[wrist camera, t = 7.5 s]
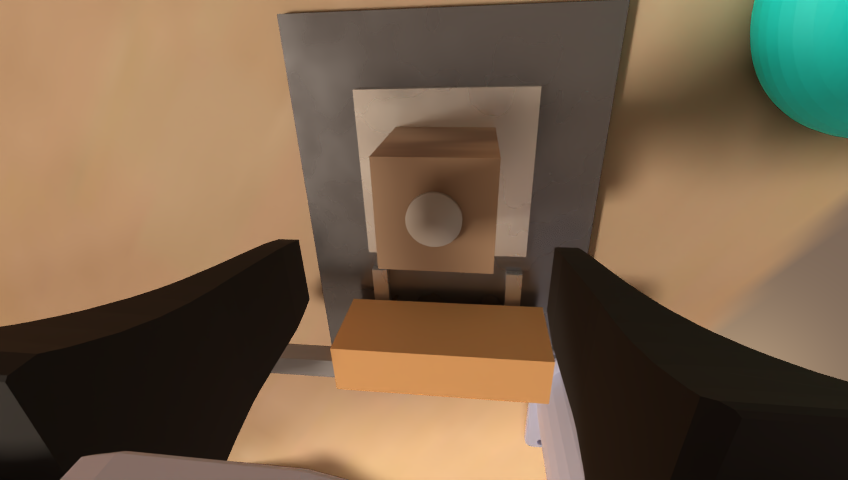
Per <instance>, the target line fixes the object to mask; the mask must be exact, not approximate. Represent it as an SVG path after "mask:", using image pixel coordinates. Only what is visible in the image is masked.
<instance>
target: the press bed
mask: <svg viewBox="0 0 848 480" xmlns="http://www.w3.org/2000/svg"><path fill="white" fill-rule="evenodd" d="M629 2H630V0H604V1H580V2H557V3H533V4H509V5H485V6H461V7H437V8H413V9H389V10H365V11H341V12H317V13H294V14H277V18H278V24H279V30H280V36H281V42H282V48H283V54H284V60H285V66H286V72H287V78H288V84H289V90H290V96H291V102H292V108H293V114H294V120H295V126H296V132H297V138H298V144H299V150H300V156H301V162H302V169H303V175H304V181H305V187H306V193H307V199H308V205H309V211H310V217H311V223H312V229H313V235H314V241H315V247H316V253H317V259H318V265H319V271H320V277H321V283H322V289H323V295H324V301H325V307H326V313H327V319H328V325H329V331H330V337H331V343H332V344H333V342H334V339H335V337H336V335H337V333H338V331H339V329H340V327H341V325H342V323H343V320H344V318H345V316H346V314H347V312H348V310H349V308H350V306H351V304H352V301H353V299H369V300H391V301H413V302H436V303H458V304H480V305H502V306H525V307H543V312H544V316H545V321H546V325H547V329H548V334H549V338H550V342H551V336H550V329H549V322H548V314H547V305H548V297H549V289H550V281H551V273H552V265H553V257H554V249H555V247H569V248H580V249H581V250H583V251H584V252H586V253H587V254H588V249H589V243H590V237H591V231H592V225H593V219H594V213H595V207H596V201H597V195H598V189H599V183H600V177H601V171H602V165H603V159H604V153H605V147H606V141H607V135H608V129H609V123H610V117H611V111H612V105H613V98H614V92H615V86H616V80H617V74H618V68H619V62H620V56H621V50H622V44H623V38H624V32H625V26H626V20H627V14H628V8H629ZM395 127H496V133H497V139H498V145H499V151H500V157H501V163H500V178H499V194H498V209H497V225H496V240H495V256H494V271H493V274H483V273H461V272H439V271H417V270H395V269H378V261H377V249H376V236H375V224H374V211H373V199H372V186H371V174H370V161H369V156H370V155H371V154H372V153H373V152H374V151H375V149H376V148H377V147H378V146H379V145H380V144H381V143H382V142H383V141H384V139H385V138H386V137H387V136H388V135H389V134H390V133H391V132H392V130H393V129H394V128H395ZM551 347H552V349H553V345H552V342H551ZM553 356H554V359H555V358H556V356H555V355H553Z"/></svg>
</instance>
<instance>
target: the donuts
mask: <svg viewBox="0 0 848 480" xmlns="http://www.w3.org/2000/svg"><path fill="white" fill-rule="evenodd" d="M750 47H751V56H752V61H753V65H754V68H755V72H756V75H757V77H758V80H759V82H760V84H761V86H762V88H763V89H764V91H765V93H766V94H767V95H768V97H769V98H770V99H771V101H772V102H773V103H774V104H775V105H776V106H777V107H778V108H779V109H780V110H781V111H783V112H784V113H785V114H786V115H787V116H789V117H790V118H792V119H793V120H794V121H796V122H798V123H800V124H802V125H803V126H806V127H808V128H810V129H813V130H816V131H819V132H822V133H825V134H829V135H833V136H838V137H844V138H848V0H755V1H754V5H753V10H752V16H751V24H750Z"/></svg>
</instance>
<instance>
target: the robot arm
mask: <svg viewBox="0 0 848 480" xmlns="http://www.w3.org/2000/svg"><path fill="white" fill-rule="evenodd" d="M308 302H309V293H308V288H307V283H306V277H305V272H304V266H303V261H302V255H301V250H300V245H299V240H284V239H278V240H275V241H271V242H269V243H266V244H263V245H261V246H259V247H256V248H254V249H252V250H249V251H247V252H245V253H243V254H240V255H238V256H236V257H234V258H232V259H229V260H227V261H225V262H223V263H221V264H218V265H216V266H214V267H211V268H209V269H207V270H204V271H202V272H199V273H197V274H195V275H192V276H190V277H187V278H185V279H183V280H180V281H178V282H175V283H172V284H170V285H167V286H164V287H161V288H159V289H156V290H153V291H150V292H147V293H144V294H141V295H137V296H134V297H131V298H128V299H124V300H120V301H117V302H113V303H109V304H106V305H102V306H98V307H95V308H91V309H87V310H83V311H79V312H74V313H70V314H66V315H61V316H57V317H52V318H47V319H42V320H37V321H32V322H26V323H21V324H15V325H9V326H3V327H0V480H347V479H343V478H340V477H336V476H332V475H329V474H325V473H321V472H317V471H314V470H310V469H304V468H294V467H284V466H274V465H264V464H254V463H243V462H233V461H227V459H228V457H229V454H230V452H231V450H232V447H233V445H234V443H235V440H236V438H237V436H238V434H239V432H240V429H241V427H242V425H243V423H244V421H245V419H246V417H247V415H248V412H249V410H250V408H251V406H252V404H253V402H254V400H255V398H256V397H257V395H258V393H259V391H260V389H261V388H262V386H263V384H264V383H265V381H266V380H267V378H268V376H269V375H270V373H271V371H272V370H273V368H274V366H275V365H276V363H277V362H278V360H279V358H280V357H281V355H282V353H283V352H284V350H285V348H286V347H287V345H288V343H289V342H290V340H291V338H292V337H293V335H294V333H295V331H296V330H297V328H298V326H299V324H300V321H301V319H302V317H303V315H304V312H305V309H306V307H307V304H308ZM547 314H548V322H549V329H550V336H551V342H552V345H553V349H552V351H553V355H555V356H556V358H555V359H554V360H555V366H554V373H553V380H552V387H551V393H550V400H549V404H540V403H528V410H527V419H526V428H525V443H526V444H527V445H529V446H533V447H542V451H543V457H544V464H545V471H546V477H547V480H848V382H847V381H844V380H841V379H837V378H834V377H830V376H827V375H824V374H820V373H817V372H814V371H811V370H808V369H805V368H803V367H800V366H797V365H794V364H791V363H789V362H786V361H783V360H780V359H777V358H774V357H772V356H769V355H766V354H764V353H761V352H759V351H756V350H753V349H751V348H748V347H746V346H744V345H741V344H739V343H737V342H735V341H732V340H730V339H728V338H725V337H723V336H721V335H718V334H716V333H714V332H712V331H710V330H708V329H705V328H703V327H701V326H699V325H697V324H695V323H693V322H691V321H690V320H688V319H686V318H684V317H682V316H680V315H678V314H676V313H674V312H673V311H671V310H669V309H667V308H665V307H664V306H662V305H660V304H659V303H657V302H655V301H654V300H652V299H651V298H649V297H648V296H646V295H644V294H643V293H641V292H640V291H638V290H637V289H635V288H634V287H632V286H631V285H629V284H628V283H626V282H625V281H624V280H622V279H621V278H619V277H618V276H617V275H615V274H614V273H613V272H611V271H610V270H608V269H607V268H606V267H604V266H603V265H602V264H601V263H599V262H598V261H597V260H595V259H594V258H593V257H591V256H590V255H589V254H587V253H586V252H584V251H583V250H581V249H580V248H569V247H555V249H554V257H553V265H552V273H551V281H550V289H549V297H548V305H547Z"/></svg>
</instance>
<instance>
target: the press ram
mask: <svg viewBox="0 0 848 480" xmlns="http://www.w3.org/2000/svg"><path fill="white" fill-rule="evenodd" d="M554 366H555V360H554V356H553V351H552V347H551V342H550V338H549V334H548V329H547V325H546V321H545V316H544V312H543V307H525V306H502V305H480V304H458V303H436V302H413V301H391V300H369V299H353V301H352V304H351V306H350V308H349V310H348V312H347V314H346V316H345V318H344V320H343V323H342V325H341V327H340V329H339V331H338V333H337V335H336V337H335V339H334V342H333V344H332V346H317V345H300V344H288V345H287V347H286V348H285V350H284V352H283V353H282V355H281V357H280V358H279V360H278V362H277V363H276V365H275V366H274V368H273V370H272V371H271V373H280V374H295V375H309V376H324V377H335V381H336V387H337V389H346V390H360V391H374V392H388V393H402V394H415V395H429V396H443V397H457V398H471V399H485V400H498V401H512V402H526V403H540V404H549V400H550V393H551V387H552V380H553V373H554Z"/></svg>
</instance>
